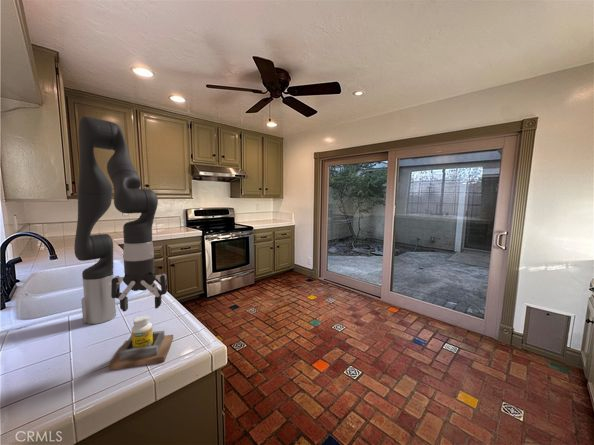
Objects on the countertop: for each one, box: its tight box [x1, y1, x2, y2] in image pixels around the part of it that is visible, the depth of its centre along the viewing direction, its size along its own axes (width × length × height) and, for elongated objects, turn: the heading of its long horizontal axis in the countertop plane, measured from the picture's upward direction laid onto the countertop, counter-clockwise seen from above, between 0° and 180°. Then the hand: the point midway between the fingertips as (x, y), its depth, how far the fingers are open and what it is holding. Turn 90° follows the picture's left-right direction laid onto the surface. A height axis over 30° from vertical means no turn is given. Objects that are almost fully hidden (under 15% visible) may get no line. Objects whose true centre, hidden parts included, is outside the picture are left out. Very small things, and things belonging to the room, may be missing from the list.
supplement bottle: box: [131, 315, 154, 348], centre depth 74 cm, size 5×5×10 cm
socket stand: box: [107, 330, 174, 371], centre depth 75 cm, size 14×12×4 cm
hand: (141, 308), depth 74 cm, fingers open, 8 cm apart
